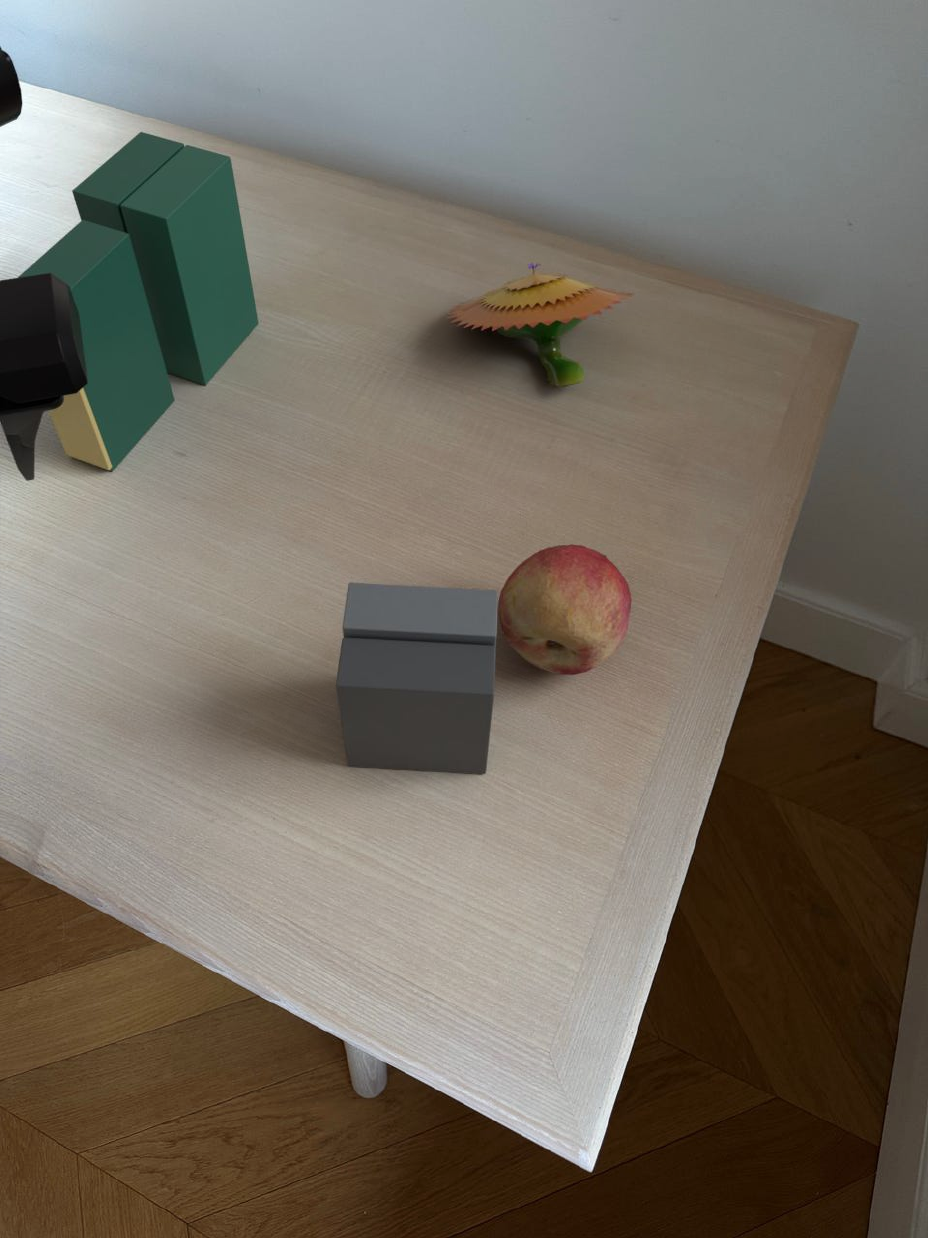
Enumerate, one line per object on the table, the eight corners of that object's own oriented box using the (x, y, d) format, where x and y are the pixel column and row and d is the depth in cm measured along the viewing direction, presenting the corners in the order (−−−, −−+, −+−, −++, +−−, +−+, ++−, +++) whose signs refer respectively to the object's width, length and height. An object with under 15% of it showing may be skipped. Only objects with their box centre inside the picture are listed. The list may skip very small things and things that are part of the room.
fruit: (471, 645, 63) (476, 566, 56) (552, 577, 66) (566, 495, 60) (565, 723, 60) (582, 649, 53) (645, 647, 63) (670, 569, 57)
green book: (110, 474, 70) (48, 309, 59) (67, 458, 71) (-2, 292, 60) (175, 400, 75) (129, 233, 63) (134, 386, 76) (81, 218, 64)
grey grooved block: (347, 767, 58) (334, 680, 50) (358, 675, 62) (348, 581, 54) (485, 774, 58) (494, 689, 50) (489, 682, 61) (498, 589, 54)
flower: (674, 345, 80) (661, 232, 76) (597, 397, 70) (579, 271, 67) (515, 356, 88) (496, 256, 85) (428, 404, 79) (403, 293, 75)
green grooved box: (205, 385, 76) (166, 218, 64) (124, 358, 77) (71, 190, 66) (259, 323, 80) (230, 156, 69) (181, 298, 82) (140, 131, 70)
